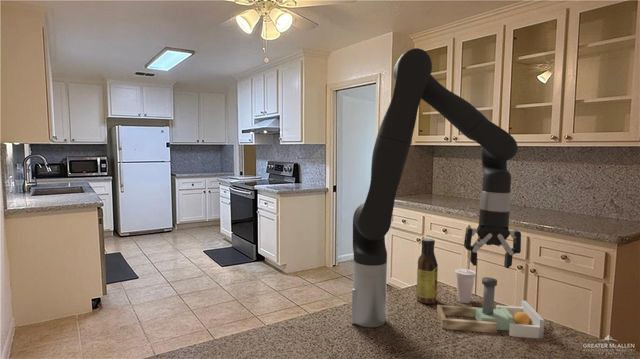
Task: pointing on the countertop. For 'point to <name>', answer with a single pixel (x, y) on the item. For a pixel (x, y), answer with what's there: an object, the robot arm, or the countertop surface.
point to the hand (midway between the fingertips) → (490, 266)
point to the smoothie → (465, 283)
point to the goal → (528, 331)
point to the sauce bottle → (427, 273)
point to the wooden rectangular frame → (463, 324)
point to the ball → (521, 318)
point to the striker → (492, 307)
